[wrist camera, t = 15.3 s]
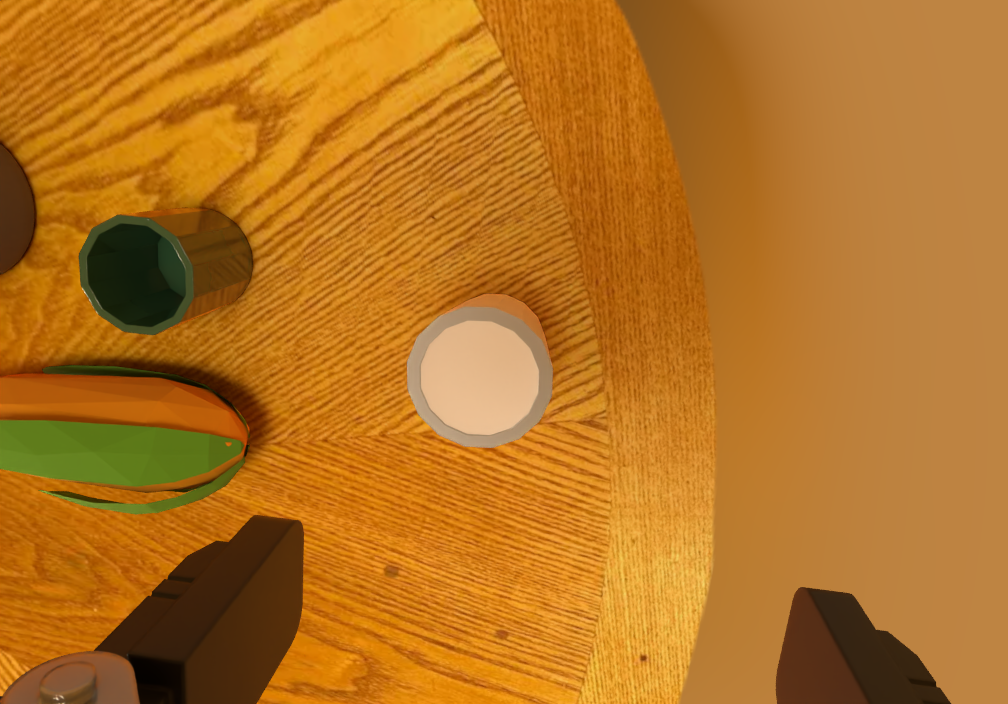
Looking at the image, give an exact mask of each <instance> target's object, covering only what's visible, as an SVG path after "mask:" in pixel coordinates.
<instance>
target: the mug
mask: <svg viewBox="0 0 1008 704" xmlns="http://www.w3.org/2000/svg"><path fill="white" fill-rule="evenodd" d="M34 221H35V212H34V203H33V197H32V194H31V190H30V187H29V184H28V182H27V179H26V177H25V175H24V173H23V171H22V170H21V168H20V166H19V165H18V163H17V162H16V160H15V159H14V158H13V156H12V155H11V154H10V153H9V152H8V151H7V150H6V148H5V147H3V146H2V145H1V144H0V274H3V273H4V272H6V271H7V270H9V269H10V268H11V267H12V266H14V265H15V264H16V263H17V262H18V261H19V260H20V258H21V257H22V256H23V254H24V253H25V251H26V249H27V248H28V245H29V243H30V241H31V237H32V234H33V229H34Z"/></svg>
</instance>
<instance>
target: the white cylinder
mask: <svg viewBox="0 0 1008 704" xmlns="http://www.w3.org/2000/svg"><path fill="white" fill-rule="evenodd" d="M552 378H553V367H552V362H551V358H550V354H549V350H548V346H547V342H546V338H545V334H544V332H543V329H542V326H541V324H540V321H539V319H538V317H537V316H536V315H535V314H534V313H533V311H532V310H531V309H530V308H529V307H528V306H527V305H526V304H525V303H524V302H522V301H519V300H517V299H515V298H513V297H510V296H508V295H506V294H483V295H481V296H478V297H475V298H473V299H470V300H467V301H465V302H464V303H462V304H460V305H458V306H456V307H455V308H453V309H451V310H449V311H447V312H446V313H444V314H442V315H440V316H438V317H437V318H436V319H435V320H434V321H433V322H432V323H431V324H430V325H429V326H428V327H427V328H426V329H425V330H424V331H423V332H422V333H421V334H419V335H418V337H417V339H416V341H415V344H414V346H413V349H412V351H411V354H410V356H409V358H408V361H407V388H408V392H409V394H410V396H411V399H412V401H413V403H414V405H415V408H416V410H417V412H418V415H419V416H420V417H421V418H422V419H423V420H424V421H425V422H426V423H427V424H428V425H429V426H430V427H431V428H432V429H433V430H434V431H435V432H436V433H437V434H438V435H440V436H442V437H444V438H447V439H449V440H451V441H454V442H456V443H458V444H460V445H463V446H467V447H486V448H494V447H497V446H500V445H503V444H506V443H509V442H512V441H515V440H518V439H520V438H521V437H522V436H523V435H524V434H525V433H527V432H528V431H529V430H530V429H531V428H532V427H533V426H535V425H536V424H537V423H538V422H539V421H540V420H541V418H542V415H543V413H544V411H545V409H546V407H547V405H548V403H549V401H550V399H551V397H552Z"/></svg>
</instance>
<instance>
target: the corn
mask: <svg viewBox="0 0 1008 704" xmlns="http://www.w3.org/2000/svg"><path fill="white" fill-rule="evenodd" d="M42 370H43V372H44V373H45V374H32V373H22V374H16V375H9V376H2V377H0V469H4V470H9V471H14V472H19V473H23V474H28V475H32V476H36V477H43V478H50V479H57V480H63V481H70V482H77V483H84V484H90V485H97V486H104V487H111V488H117V489H124V490H131V491H138V492H145V493H149V492H159V491H175V492H188V491H191V490H193V491H191V492H188V493H186V494H183V495H181V496H178V497H176V498H171V499H166V500H162V501H157V502H153V503H148V504H125V503H119V502H114V501H108V500H102V499H97V498H91V497H87V496H83V495H79V494H76V493H72V492H67V491H48V492H47V491H43V490H38V491H41V492H44V493H47V494H50V495H53V496H56V497H59V498H62V499H65V500H68V501H71V502H74V503H77V504H80V505H83V506H87V507H93V508H99V509H106V510H112V511H118V512H124V513H131V514H146V513H158V512H162V511H165V510H169V509H172V508H176V507H179V506H182V505H186V504H189V503H192V502H195V501H198V500H201V499H203V498H205V497H207V496H209V495H210V494H212V493H214V492H216V491H217V490H219V489H221V488H223V487H224V486H226V485H227V484H228V483H229V482H230V480H231V479H232V478H233V477H234V475H235V474H236V473H237V472H238V470H239V469H240V468H241V467H242V466H243V464H244V463H245V456H246V455H247V452H248V449H249V447H250V445H246V444H247V440H248V438H249V437H250V434H249V431H250V428H249V427H248V425H247V423H246V420H245V419H244V417H243V416H242V415H241V413H240V412H239V411H238V410H237V409H236V408H235V407H234V405H233V404H232V403H231V402H229V401H228V400H226V399H225V398H224V397H222V396H221V395H219V394H218V393H216V392H215V391H213V390H212V389H210V388H209V387H208V386H206V385H204V384H201V383H198V382H196V381H193V380H190V379H187V378H184V377H181V376H178V375H175V374H167V373H160V372H153V371H145V370H138V369H131V368H123V367H116V366H79V365H66V366H52V367H46V368H44V369H42ZM195 489H196V490H195Z"/></svg>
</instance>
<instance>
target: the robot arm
mask: <svg viewBox="0 0 1008 704" xmlns="http://www.w3.org/2000/svg"><path fill="white" fill-rule="evenodd" d="M303 550H304V531H303V525H302V523H301V522H300V521H299V520H292V519H284V518H276V517H269V516H261V515H254V516H253V517H252V518H250V519H249V521H248V522H247V523H246V524H245V525H244V526H243V527H242V528H241V529H240V530H239V531H238V533H237V534H236V535H235V536H234V537H233V538H232V539H231V540H230V541H229V542H223V541H215V542H213V543H211V544H209V545H207V546H206V547H204V548H202V549H200V550H198V551H196V552H194V553H192V554H190V555H188V556H187V557H186V558H185V559H184V560H183V561H182V562H181V563H180V564H179V565H178V566H177V567H176V568H175V569H174V570H173V571H172V572H171V573H170V574H169V575H168V579H167V580H166V579H164V580H163V581H162V582H161V583H160V584H159V585H158V586H157V587H156V588H155V589H154V590H153V591H152V595H151V596H147V597H146V598H145V599H144V600H143V601H142V602H141V603H140V605H139V606H138V607H137V608H136V609H135V610H134V611H133V612H132V613H131V614H130V615H129V616H128V617H127V618H126V619H125V620H124V621H123V622H122V623H121V624H120V625H119V626H118V627H117V628H116V629H115V630H114V631H113V632H112V633H111V634H110V635H109V636H108V637H107V638H106V639H105V640H104V641H103V642H102V643H101V644H100V645H99V646H98V647H97V648H96V649H95V650H94V651H86V652H78V653H73V654H68V655H64V656H61V657H57V658H54V659H52V660H49V661H47V662H44V663H42V664H40V665H38V666H36V667H34V668H33V669H31V670H29V671H28V672H26V673H25V674H23V675H22V676H21V677H19V678H18V679H17V680H16V681H15V682H14V683H13V684H12V685H10V686H9V688H8V689H7V690H6V692H5V693H4V694H3V696H0V704H256V703H257V702H258V700H259V698H260V697H261V695H262V693H263V692H264V690H265V688H266V687H267V685H268V683H269V681H270V680H271V678H272V676H273V675H274V673H275V671H276V670H277V668H278V666H279V665H280V663H281V661H282V659H283V658H284V656H285V654H286V653H287V651H288V649H289V648H290V646H291V644H292V642H293V640H294V638H295V635H296V633H297V629H298V626H299V622H300V618H301V612H302V602H303ZM776 696H777V704H951V703H950V701H949V700H948V699H947V697H946V696H945V694H944V693H943V692H942V690H941V689H940V688H937V687H936V681H935V680H934V679H933V677H932V676H931V674H930V673H929V671H928V670H927V669H926V667H925V666H924V664H923V663H922V661H921V660H920V659H919V657H918V656H917V655H916V654H914V653H913V652H912V651H911V650H910V649H909V648H907V647H906V646H905V645H904V644H902V643H901V642H900V641H899V640H897V639H896V638H895V637H894V636H893V635H891V634H890V633H889V632H887V631H880V630H876V629H875V628H874V626H873V625H872V623H871V621H870V620H869V618H868V617H867V615H866V614H865V612H864V611H863V609H862V607H861V606H860V604H859V603H858V601H857V600H856V598H855V597H854V596H853V595H852V594H849V593H843V592H835V591H828V590H820V589H812V588H805V587H801V588H799V589H798V590H797V591H796V593H795V595H794V598H793V601H792V606H791V610H790V615H789V619H788V624H787V629H786V633H785V638H784V642H783V646H782V651H781V655H780V660H779V664H778V669H777V676H776Z"/></svg>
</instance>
